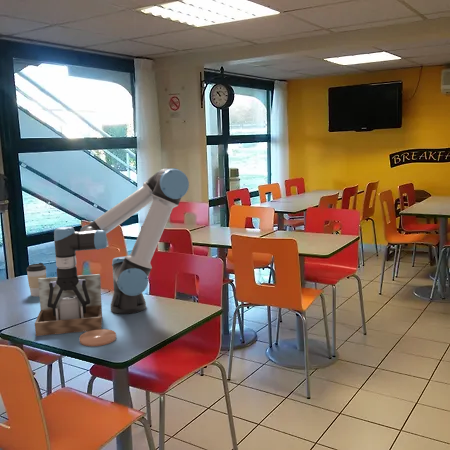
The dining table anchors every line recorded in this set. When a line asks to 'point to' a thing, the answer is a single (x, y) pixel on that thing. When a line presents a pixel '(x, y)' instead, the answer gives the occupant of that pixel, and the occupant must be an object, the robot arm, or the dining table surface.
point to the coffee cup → (35, 277)
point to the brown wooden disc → (97, 337)
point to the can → (69, 307)
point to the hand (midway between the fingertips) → (70, 322)
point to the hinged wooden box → (93, 315)
